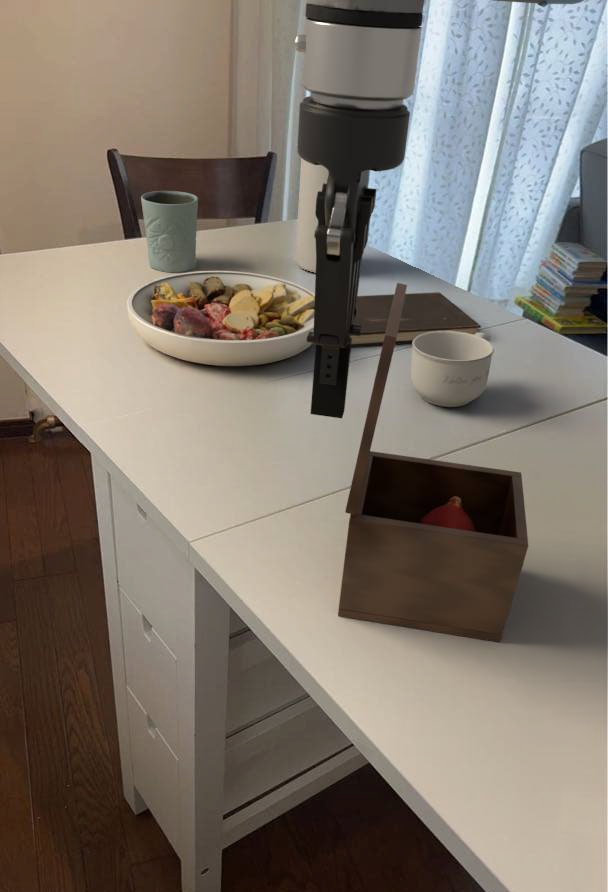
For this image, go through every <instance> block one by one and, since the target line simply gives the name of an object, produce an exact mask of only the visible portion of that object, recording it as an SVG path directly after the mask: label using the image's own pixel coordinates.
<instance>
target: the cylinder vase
mask: <svg viewBox="0 0 608 892" xmlns="http://www.w3.org/2000/svg"><path fill="white" fill-rule="evenodd" d="M328 173H329V171H328V170H327V169H326V168H325V167H324V166H322V165H314V164H311V163H309V162H307V161H305V160H303V159H302V158H301V157H300V174H299V175H300V176H299V192H298V194H299V195H298V207H297V208H298V209H297V226H296V240H295V241H296V243H295V244H296V245H295V263H296V265H297V267H299V268H300V269H301V270H303V269H304V270H303V271H305V270H307V271H306V272H308V271H310V272H309V273H311V272H314V273H313V274H315V273H316V239H315V238H314V235H315V230H316V227H317V226H318V219H317V217H316V214H315V211H316V198H317V193H318V191H322V186H323V183H326V184H327V179H328ZM370 174H371V170H369V175H368V185H367V188H369V185H370V184H369V183H370V177H371V175H370Z"/></svg>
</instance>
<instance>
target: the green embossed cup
mask: <svg viewBox="0 0 608 892" xmlns="http://www.w3.org/2000/svg"><path fill="white" fill-rule="evenodd" d="M140 200H141V209H142V216H143V220H144V228H145V238H146V244H147V255H148V256H147V257H148V264H149V267H150V268H152V269H154V270H155V271H159V272H164V273H186V272H190V271H191V270H193V269H195V267H196V261H197V253H196V252H197V229H198V224H197V223H198V209H199V208H198V207H199V198H198V196H196V195H195V194H192V193H189V192H185V191H176V190H156V191H155V190H154V191H150V192H146V193H143V194H142V195H141V196H140Z"/></svg>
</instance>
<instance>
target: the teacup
mask: <svg viewBox="0 0 608 892" xmlns="http://www.w3.org/2000/svg"><path fill="white" fill-rule="evenodd" d="M411 346H412V352H411V353H412V354H411V365H410V382H411V385H412V387H413V389H414V390H415V392H416V393H417V394H418V395H420V396H421V398H422V399H424V400H425V402H427V403H430V404H431V405H435V406H438V407H443V408H444V407H445V408H456V407H462V406H465V405H467V404H469V403H470V402H471V401H473V400H475V399H477V398H479V397H480V396H481V395H482V394H483V393H484V391H485V389H486V386H487V383H488V379H489V374H490V370H491V365H492V357H493V354H494V352H495V348H494V345H493V344H492V343H491V342H490V336H489V335H488V334H487V333H484V332H479V331H478V332H477V333H476V334H475V335H473V334H469V333H464V332H457V331H434V332H428V333H424V334H421V335H419V336H417V337H416V338H414V340H413V342H412V343H411Z"/></svg>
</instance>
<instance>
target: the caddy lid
mask: <svg viewBox="0 0 608 892" xmlns="http://www.w3.org/2000/svg"><path fill="white" fill-rule="evenodd" d="M407 288H408V284H405V283H401V282H396V286H395V290H394V293H393V294H394V298H393V303H392V307H391V311H390V316H389V320H388V324H387V328H386V333H385V337H384V341H383V345H381V346H382V347H381V350H380V354H379V359H378V364H377V368H376V369H377V370H376V373H375V377H374V383H373V387H372V390H371V395H370V399H369V403H368V407H367V408H368V409H367V413H366V417H365V422H364V427H363V430H362V436H361V440H360V444H359V448H358V453H357V457H356V462H355V466H354V469H353V470H354V471H353V476H352V480H351V483H350V488H349V493H348V498H347V502H346V505H345V511H344V512H345V514H349V515H350V514H353V515H355V513H356V508H357V504H358V500H359V496H360V491H361V487H362V483H363V479H364V474H365V470H366V466H367V462H368V457H369V453H370V451H371V448H372V444H373V440H374V435H375V432H376V427H377V422H378V419H379V415H380V410H381V406H382V401H383V397H384V393H385V390H386V389H385V388H386V384H387V380H388V377H389V372H390V368H391V364H392V359H393V356H394V351H395V346H396V344H395V342H396V338H397V333H398V328H399V323H400V318H401V313H402V308H403V303H404V298H405V294H407V293H406V292H407Z"/></svg>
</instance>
